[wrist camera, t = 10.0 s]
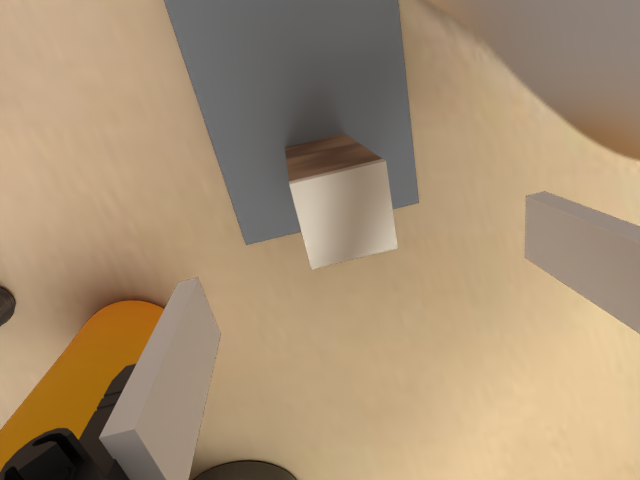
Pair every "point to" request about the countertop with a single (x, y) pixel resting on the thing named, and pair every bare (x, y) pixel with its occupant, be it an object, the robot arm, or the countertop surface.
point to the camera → (6, 306)
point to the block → (340, 200)
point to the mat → (295, 93)
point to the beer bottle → (82, 374)
